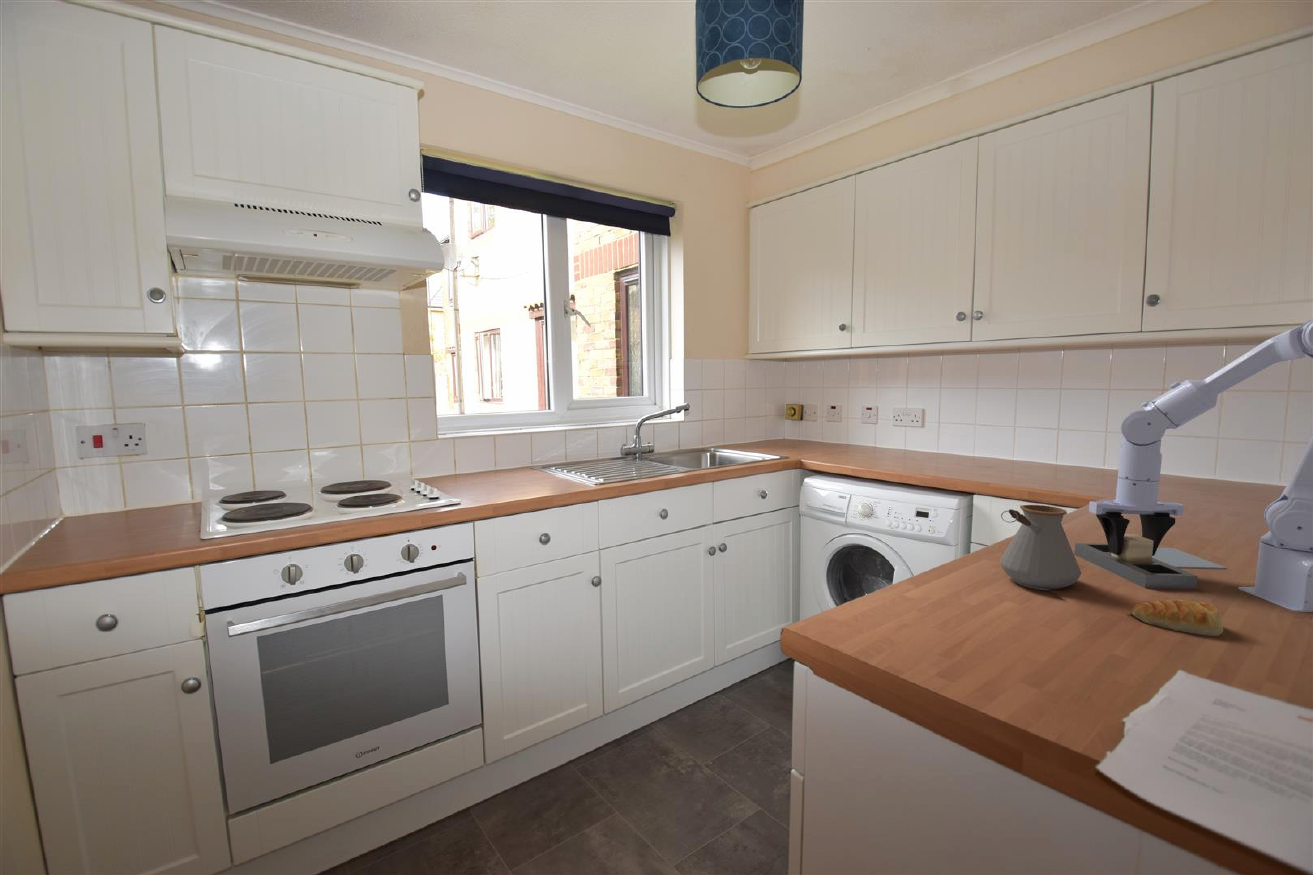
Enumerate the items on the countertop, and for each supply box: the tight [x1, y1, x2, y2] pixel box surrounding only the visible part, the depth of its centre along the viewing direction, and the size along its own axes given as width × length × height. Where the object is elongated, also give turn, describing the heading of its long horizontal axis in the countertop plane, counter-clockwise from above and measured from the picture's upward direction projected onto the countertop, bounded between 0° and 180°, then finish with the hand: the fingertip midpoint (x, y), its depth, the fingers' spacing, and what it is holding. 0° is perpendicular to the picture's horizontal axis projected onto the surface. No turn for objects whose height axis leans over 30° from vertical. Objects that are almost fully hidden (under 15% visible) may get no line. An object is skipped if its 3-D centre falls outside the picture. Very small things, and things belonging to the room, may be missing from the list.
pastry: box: [1131, 598, 1224, 637], centre depth 83 cm, size 9×7×4 cm
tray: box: [1073, 542, 1198, 590], centre depth 105 cm, size 18×8×3 cm, turn 176°
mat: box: [1152, 547, 1228, 570], centre depth 112 cm, size 12×12×1 cm
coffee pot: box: [999, 504, 1082, 592], centre depth 96 cm, size 21×12×15 cm, turn 130°
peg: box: [1111, 533, 1153, 563], centre depth 104 cm, size 4×4×6 cm
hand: (1131, 553), depth 104 cm, fingers open, 5 cm apart
